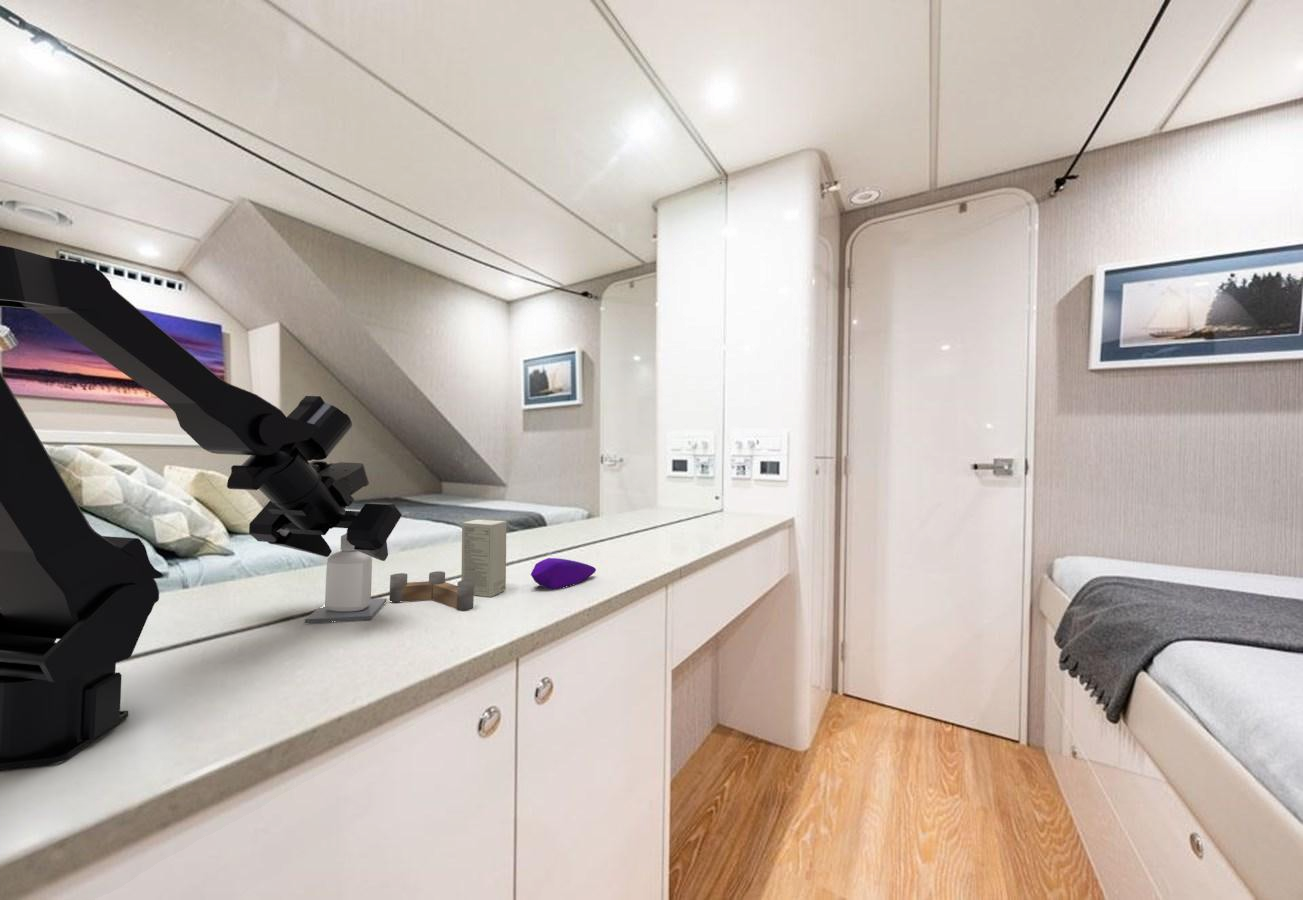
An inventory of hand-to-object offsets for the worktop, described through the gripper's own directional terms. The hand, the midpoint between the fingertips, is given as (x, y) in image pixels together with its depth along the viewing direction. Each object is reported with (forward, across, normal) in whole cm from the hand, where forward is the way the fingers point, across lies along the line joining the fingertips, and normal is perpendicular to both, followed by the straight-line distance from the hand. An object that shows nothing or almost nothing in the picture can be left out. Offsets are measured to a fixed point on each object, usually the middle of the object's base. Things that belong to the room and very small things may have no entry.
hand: (357, 556), depth 69 cm
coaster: (+5, 0, +6) cm, 8 cm away
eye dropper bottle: (+4, 0, +6) cm, 8 cm away
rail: (+9, -9, +2) cm, 13 cm away
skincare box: (+14, -14, -3) cm, 20 cm away
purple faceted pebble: (+20, -26, -9) cm, 34 cm away
